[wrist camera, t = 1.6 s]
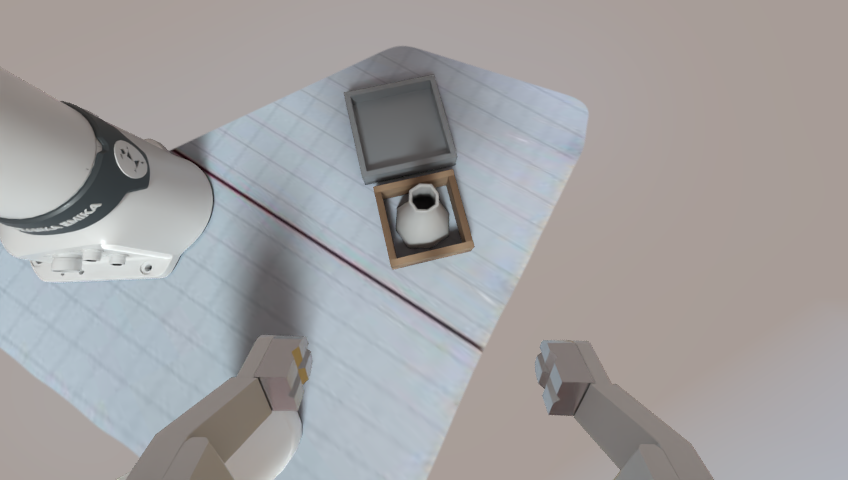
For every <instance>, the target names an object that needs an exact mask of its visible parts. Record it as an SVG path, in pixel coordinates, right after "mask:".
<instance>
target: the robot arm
mask: <svg viewBox="0 0 848 480" xmlns="http://www.w3.org/2000/svg"><path fill="white" fill-rule="evenodd" d="M212 205H213V195H212V189H211V186H210V183H209V181H208V179H207V177H206V175H205V174H204V173H203V171H202V170H201V169H200V168H199V167H198V166H196V165H195V164H194V163H192V162H190V161H188V160H186V159H184V158H181V157H178V156H176V155H173V154H171V153H170V152H169V151H168V150H167V149H166V148H165V147H164V146H163V145H162V144H160V143H159V142H156V141H154V140H152V139H145V140H143V139H141V138H139V137H137V136H135V135H133V134H131V133H129V132H126V131H124V130H122V129H120V128H118V127H116V126H114V125H112V124H110V123H107V122H105V121H103V120H102V119H100V118H98V116H97V115H95V114H93V113H91V112H89V111H87V110H84V109H82V108H80V107H78V106H76V105H73V104H71V103H67V102H64V101H59V100H57V99H55V98H54V97H52V96H50V95H48V94H47V93H45V92H43V91H42V90H40V89H38V88H36V87H34V86H33V85H31V84H29V83H28V82H26V81H24V80H22V79H20V78H19V77H17V76H15V75H14V74H12V73H10V72H8V71H6V70H4V69H3V68H1V67H0V240H1V242H2V244H3V246H4V248H5V249H6V250H7V251H8V252H9V253H10V254H11V255H12V256H14V257H16V258H20V259H25V260H30V263H31V266H32V268H33V270H34V271H35V273H36V274H37V276H38V277H39V278H40V279H41V280H42V281H45V282H51V283H64V282H88V281H111V280H134V279H157V278H165V277H167V276H168V275H169V274H170V273H171V272H172V271H173V269H174V267H175V265H176V264H177V262H178V260H179V257H180V256H181V254H182V253H183V252H184V251H185V250H186V249H187V248H188V247H190V246H191V245H192V244H193V243H194V242H195V241H196V240H197V239H198V237H199V236H200V235H201V233H202V232H203V230H204V229H205V227H206V225H207V223H208V221H209V218H210V215H211V211H212ZM151 266H152V269H151V270H149V269H150V267H151ZM308 344H309V343H308V340H307V337H304V336H281V335H261V336H260V337H258V338H257V340H256V342H255V343H254V345H253V347H252V349H251V351H250V353H249V354H248V356H247V358H246V360H245V362H244V364H243V365H242V367H241V369H240V371H239V373H238V375H237V376H236V377H231V378H230V379H229V380H227V381H226V382H225V383H223V384H222V385H221V386H219V387H218V388H217V389H215V390H214V391H213V392H211V393H210V394H209V395H207V396H206V397H205V398H203V399H202V400H201V401H199V402H198V403H197V404H195V405H194V406H193V407H192V408H190V409H189V410H188V411H186V412H185V413H184V414H182V415H181V416H180V417H178V418H177V419H176V420H174V421H173V422H172V423H170V424H169V425H168V426H166V427H165V428H164V429H162V430H161V431H160V432H158V433H157V434H156V435H155V436H154V438H153V439H152V441H151V442H150V444H149V445H148V447H147V448H146V450H145V451H144V453H143V454H142V456H141V457H140V459H139V460H138V462H137V463H136V465H135V466H134V468H133V469H132V471H131V472H130V474H129V475H128V477H127V478H126V480H234V478H233V475H232V474H231V472H230V471H229V469H228V468H227V467H226V465H225V463H226V462H227V460H228V459H229V458H230V457H231V456H232V455H233V454H234V453H235V452H236V451H237V450H238V449H239V448H240V447H241V445H242V444H243V443H244V442H245V441H246V440H247V439H248V438H249V437H250V436H251V435H252V434H253V433H254V432H255V430H256V429H257V428H258V427H259V426H260V425H261V424H262V423H263V422H264V421H265V420H266V419H267V418H268V417H269V415H270V414H271V413H272V411H298V409H299V406H300V403H301V400H302V397H303V394H304V389H303V384H304V383H305V382H306V381H307V380H308V379H309V376H310V373H311V368H312V354H311V351H309V350H308V349H307V346H308ZM540 349H541V353H540V354H539V355H538V356H537V358H536V361H535V372H536V377H537V380H538V383H539V384H540V385H541V386H542V387H543V388H544V389H545V390H544V392H543V395H542V396H543V399H544V402H545V406H546V409H547V412H548V414H549V415H564V416H565V415H566V416H574V418H575V419H576V420H577V421H578V422H579V424H580V425H581V426H582V427H583V428H584V429H585V431H586V432H587V433H588V434H589V435H590V436H591V437H592V438H593V440H594V441H595V442H596V443H597V444H598V445H599V446H600V448H601V449H602V450H603V451H604V452H605V453H606V454H607V455H608V457H609V458H610V459H611V460H612V461H613V462H614V463H615V465H616V466H617V467H618V468H619V469H620V472H619V473H618V474H617V476H616V477H615V478H614V480H714V479H713V477H712V476H711V474H710V473H709V471H708V469H707V468H706V466H705V465H704V463H703V461H702V460H701V458H700V457H699V456H698V454H697V452H696V450H695V449H694V447H693V446H692V444H691V443H689V442H688V441H687V440H686V439H684V438H683V437H682V436H681V435H680V434H678V433H677V432H676V431H675V430H673V429H672V428H671V427H670V426H668V425H667V424H666V423H665V422H663V421H662V420H661V419H659V418H658V417H657V416H656V415H654V414H653V413H652V412H651V411H650V410H648V409H647V408H646V407H645V406H643V405H642V404H641V403H640V402H638V401H637V400H636V399H635V398H633V397H632V396H631V395H629V394H628V393H627V392H626V391H625V390H623V389H622V388H621V387H620V386H618V385H617V384H612V383H611V381H610V379H609V377H608V376H607V373H606V372H605V370H604V368H603V366H602V364H601V362H600V360H599V358H598V357H597V355H596V353H595V351H594V349H593V347H592V345H591V344H590V343H589V342H588V341H571V340H543V341H542V342H541V345H540Z"/></svg>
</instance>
